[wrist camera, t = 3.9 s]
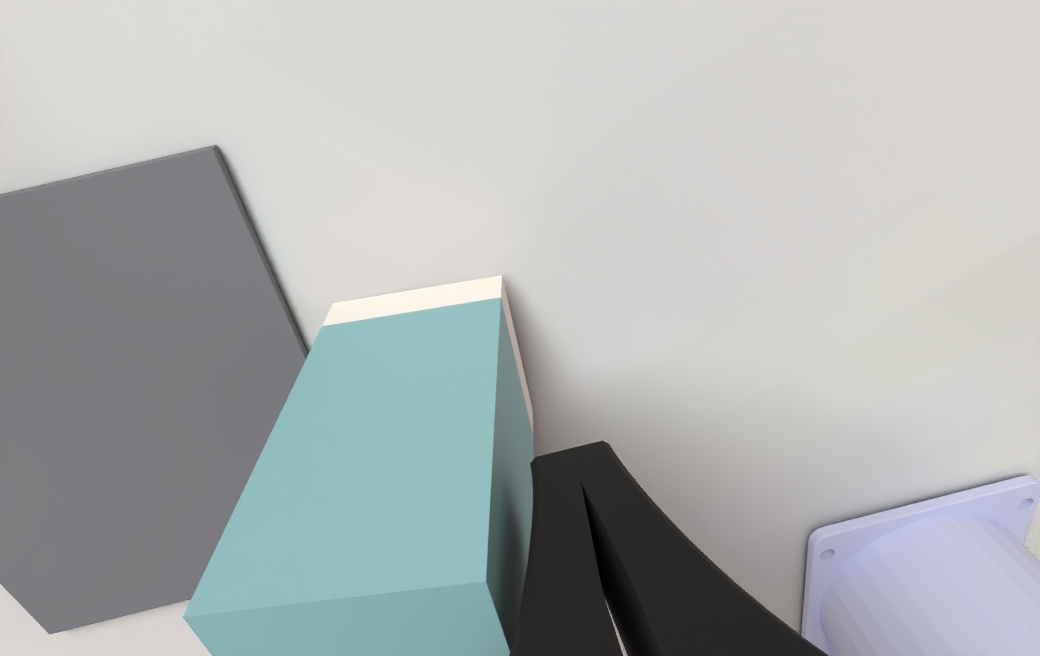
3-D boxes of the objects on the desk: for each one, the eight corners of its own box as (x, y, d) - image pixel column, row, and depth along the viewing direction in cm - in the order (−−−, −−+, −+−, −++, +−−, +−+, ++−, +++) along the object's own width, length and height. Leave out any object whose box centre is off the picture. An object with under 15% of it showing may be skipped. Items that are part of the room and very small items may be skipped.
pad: (390, 541, 19) (389, 549, 19) (54, 625, 19) (49, 634, 19) (216, 144, 13) (212, 149, 13) (-292, 261, 13) (-306, 267, 12)
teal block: (532, 410, 17) (540, 742, 10) (383, 431, 17) (296, 764, 11) (502, 275, 15) (485, 582, 8) (332, 303, 15) (182, 616, 8)
